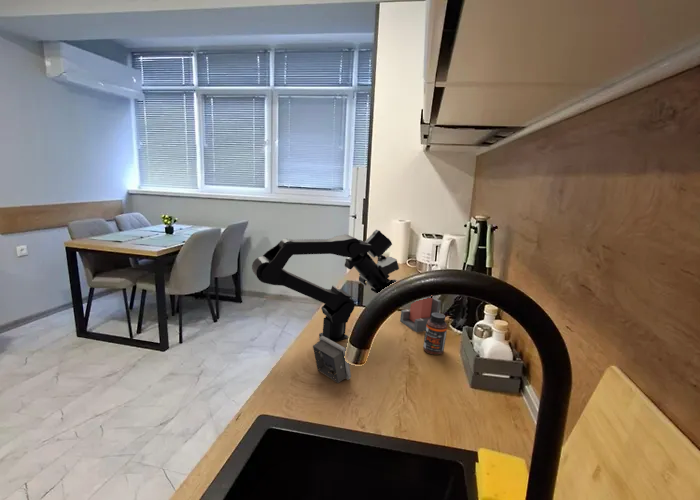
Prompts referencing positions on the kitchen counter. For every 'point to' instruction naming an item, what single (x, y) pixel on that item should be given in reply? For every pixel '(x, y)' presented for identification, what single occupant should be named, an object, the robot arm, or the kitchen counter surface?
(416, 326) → the housing
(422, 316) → the pink block with dome
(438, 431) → the kitchen counter surface
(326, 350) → the electrical switch
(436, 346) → the supplement bottle
